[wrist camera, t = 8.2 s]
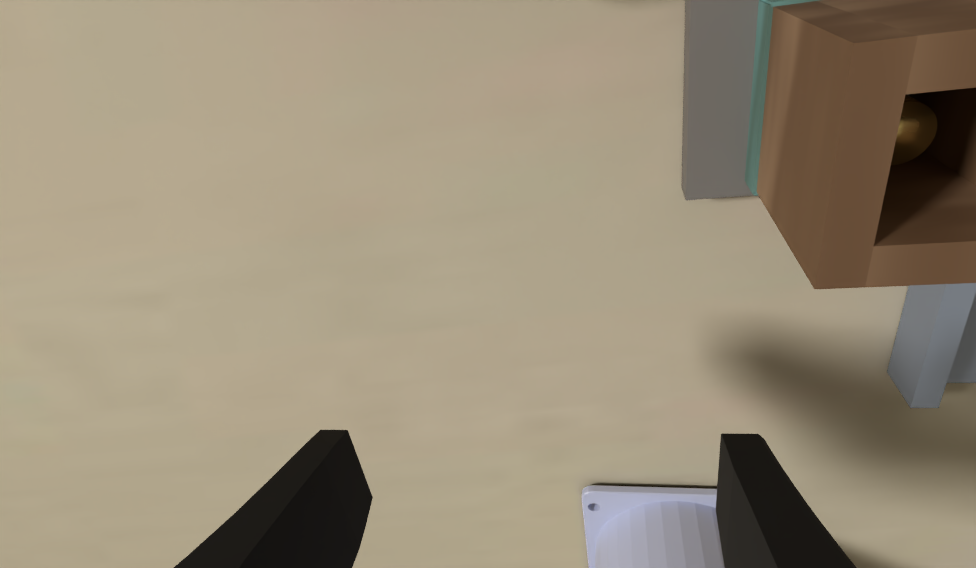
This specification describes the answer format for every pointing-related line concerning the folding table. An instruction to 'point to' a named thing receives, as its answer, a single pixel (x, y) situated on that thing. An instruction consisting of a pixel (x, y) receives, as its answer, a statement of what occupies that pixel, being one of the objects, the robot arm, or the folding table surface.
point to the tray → (934, 342)
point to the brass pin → (914, 131)
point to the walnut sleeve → (866, 138)
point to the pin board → (717, 96)
